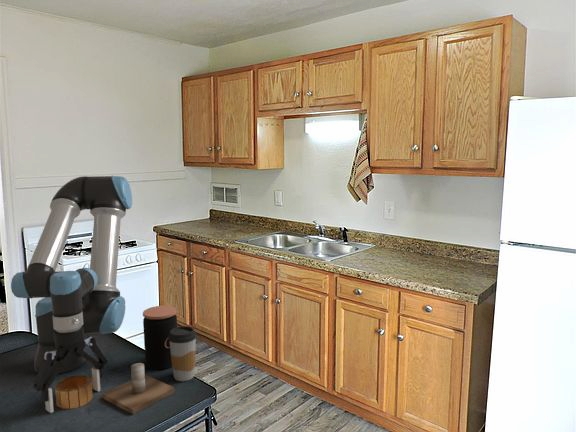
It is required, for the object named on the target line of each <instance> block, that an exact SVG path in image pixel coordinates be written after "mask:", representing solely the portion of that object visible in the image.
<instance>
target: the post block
mask: <svg viewBox="0 0 576 432" xmlns="http://www.w3.org/2000/svg"><path fill="white" fill-rule="evenodd" d="M130 373H131V374H130V375H131V379H130V380H129V381H126V382H125V383H122V384H120V385H118V386H116V387H114V388H112V389H109V390H108V391H105V392H103V393H102V399H103V400H105V401H107V402H108V403H111V405H114V406H115V407H118V408H120V409H122V410H124V411H125V412H127V413H129V414H131V415H133V416H134V415H135V414H137V413H139V412H141V411H143V410H144V409H147V408H149V407H151V406H152V405H154V404H156V403H157V402H159V401H162V400H163V399H166V398H167V397H169V396H171V395H172V394H175V392H176V390H175V387H174V386H172V385H169V384H167V383H165V382H163V381H160V380H158V379H157V378H153V377H151V376H150V375H147V374H145V373H146V372H145V364H144V363H142V362H138V363H133V364H131V366H130Z"/></svg>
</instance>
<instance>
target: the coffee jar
mask: <svg viewBox="0 0 576 432" xmlns="http://www.w3.org/2000/svg"><path fill="white" fill-rule="evenodd" d="M142 317H143V321H142V322H143V323H142V324H143V326H142V327H143V340H144V360H145V361H144V362H145V364H146V366H147V367H148V368H149V369H151V370H154V369H156V371H161V369H162V370H167V369H171V368H172V361H171V350H170V341H169V334H170V331H171V330H172V329H173V328H176V327H178V316H177V308H176V307H175V306H173V305H156V306H151V307H148V308H146V309H144V310H143V311H142Z"/></svg>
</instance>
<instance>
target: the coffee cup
mask: <svg viewBox="0 0 576 432" xmlns="http://www.w3.org/2000/svg"><path fill="white" fill-rule="evenodd" d="M196 338H197V332H196V331H195V328H194V327H192V326H189V325H183V326H182V325H181V326H177V327H176V328H173V329H172V330H171V331H170V334H169V341H170V350H171V361H172V367H171V368H172V374H173V378H174V379H175V380H176V381H177V382H186V381H187V382H188V381H190V380H192V379H193V378H194V377H195V373H196V343H197V342H196V341H197V339H196Z"/></svg>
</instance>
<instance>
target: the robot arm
mask: <svg viewBox="0 0 576 432" xmlns="http://www.w3.org/2000/svg"><path fill="white" fill-rule="evenodd" d="M131 190H132V189H131V186H130V183H129V181H128V179H127V178H126V177H124V176H118V175H116V176H115V175H111V176H110V175H107V176H105V175H102V176H99V175H98V176H93V175H92V176H87V175H86V176H85V175H84V176H78V177H74V178H73V179H71V180H69V181H68V182H66V183H65V184H64V185H62V186H61V187H60V188H59V189H58V190H57V192H56V193H55V194H54V196H53V197H52V199H51V202H50V205H49V208H50V212H49V215H48V218H47V220H46V223H45V224H44V227H43V229H42V232H41V234H40V238H39V239H38V242H37V245H36V247H35V249H34V251H33V253H32V256H31V260H30V262H29V264H28V265H27V268H26V270H25V271H21V272H16V273H15V274H14V275H13V276H12V278H11V280H10V281H11V282H10V289H11V293H12V294H13V295H14V297H15V298H18V299H36V298H37V299H39V300H38V301H37V303H36V304H35V315H34V317H35V321H36V322H35V323H36V332H37V341H38V342H37V343H38V346H37V350H36V354H35V357H34V362H33V367H34V372H35V373H37V374H36V376H35V379H34V382H33V384H32V389H33V390H35V391H37V392H40V395H41V397H40V398H41V400H42V401H43V402H44V403H45V411H47V412H48V413H50V414H53V413H54V412H55V410H54V399H53V389H52V388H51V386H52V384H53V382H54V381H55V380H56V378H57V376H58V375H60V374H64V373H69V372H71V371H74V370H76V369H78V368H79V367H81V366H83V365H84V363H85V362H88V363H89V364H91V365H92V367H91V381H92V390H95V391H97V392H100V391H101V378H102V377H103V374H102V372H103V371H102V370H103V369H104V367H105V366H104V365H107V364H108V359H107V358H106V357H105V355H104V353H103V352H102V350H101V349H100V347H99V346H98V345H97V341H96V338H95V337H93V336H90V335H98V334H100V335H104V334H111V333H115V332H117V331H118V330H119V329H120V328H121V326H122V325H123V321H124V318H125V315H126V299H125V298H124V297H123V296H121V291H120V290H119V288H117V276H118V275H117V274H118V261H119V260H118V259H119V245H120V235H121V234H120V233H121V231H120V230H121V219H122V218H124V217H125V216H126V215H127V214H126V212H127V210H130V209H132V205H133V195H132V191H131ZM85 210H89V213H90V214H91V216H92V217H93V226H92V227H93V229H92V241H91V249H90V250H91V253H90V263H89V267H81V268H78V269H76V270H64V271H63V270H62V271H61V270H60V271H57V267H58V264H59V261H60V260H61V256H62V254H63V251H64V248H65V245H66V243H67V240H68V238H69V235H70V232H71V229H72V227H73V224H74V221H75V219H77V218H78V217H79V216H80V214H81V212H82V211H85ZM40 298H42V299H40ZM85 335H88V336H87V338H85ZM86 346H89V349H90V350H91V352H92V353H93V355H94V356H95V357H96V359H97V360H98V361H97V360H96V359H95V358H93V357H92V356H91V355H89V354H88V353H87V352H86V351H84V350H85V348H86Z"/></svg>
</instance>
